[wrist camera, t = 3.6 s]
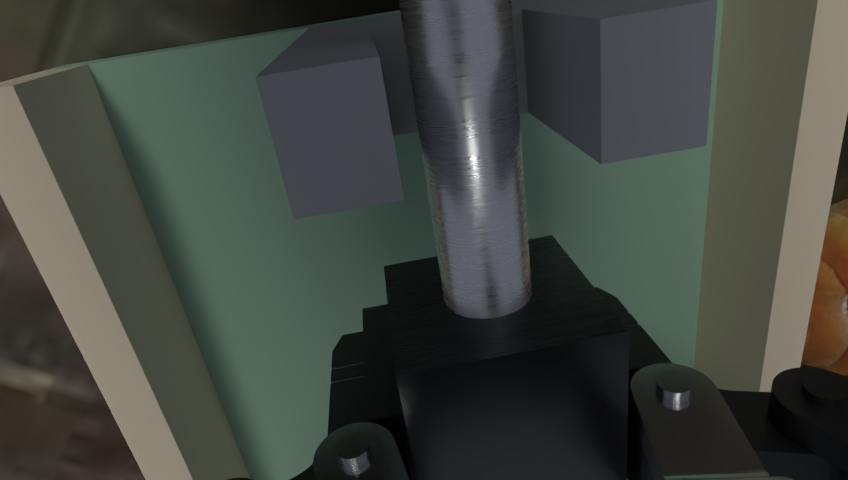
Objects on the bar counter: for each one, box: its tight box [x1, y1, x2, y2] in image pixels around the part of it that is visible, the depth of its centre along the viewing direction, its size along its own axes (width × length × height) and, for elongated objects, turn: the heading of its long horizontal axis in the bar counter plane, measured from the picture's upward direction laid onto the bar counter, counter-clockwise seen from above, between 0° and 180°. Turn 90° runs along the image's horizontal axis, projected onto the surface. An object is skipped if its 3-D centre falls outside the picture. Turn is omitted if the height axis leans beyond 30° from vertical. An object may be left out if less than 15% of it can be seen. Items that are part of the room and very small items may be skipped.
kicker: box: [384, 0, 629, 480], centre depth 12 cm, size 24×3×6 cm, turn 8°
